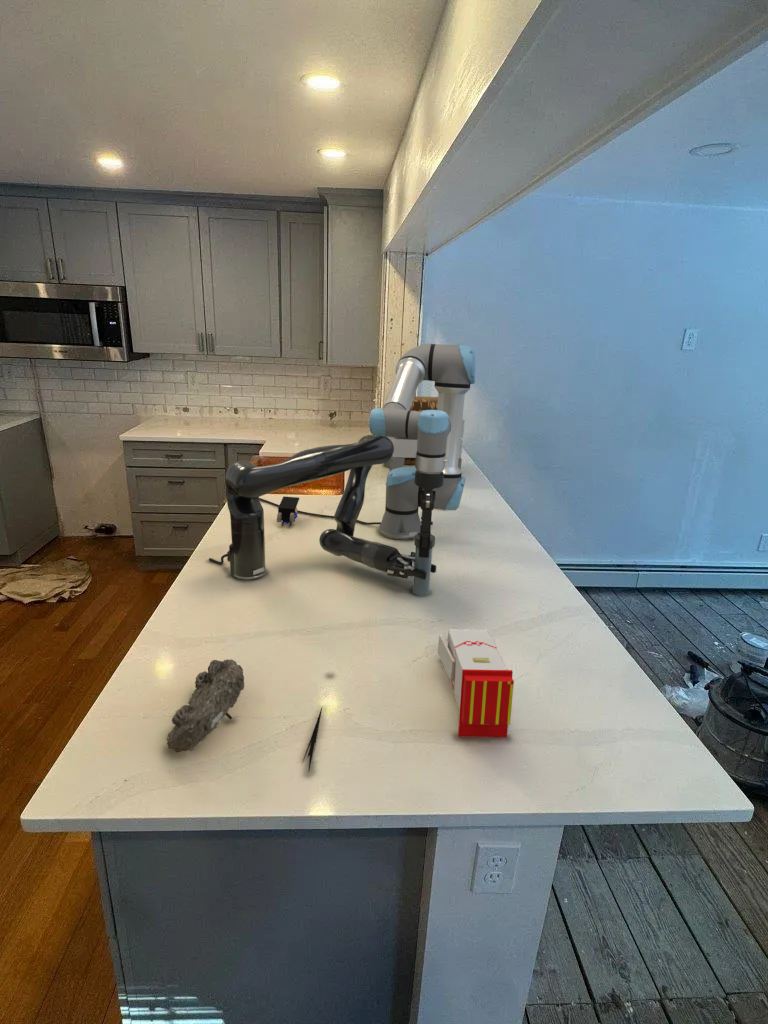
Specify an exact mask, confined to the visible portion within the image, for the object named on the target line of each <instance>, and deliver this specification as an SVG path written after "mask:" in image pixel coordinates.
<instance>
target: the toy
mask: <svg viewBox="0 0 768 1024" xmlns="http://www.w3.org/2000/svg"><path fill="white" fill-rule="evenodd" d="M446 640H447V643H446V641H445V639H444V636H443V635H442V634H439V637H438V646H437V656H438V657H439V659H440V661H441V663H442V666H443V668H444V670H445V672H446V674H447V677H448V679H449V681H450V684H451V687H452V690H453V693H454V697H455V701H456V705H457V708H458V711H459V714H458V715H459V716H458V730H457V731H458V732H457V737H458V738H508V731H509V726H510V725H511V717H512V707H513V697H514V696H513V695H514V684H515V680H514V679H513V673H514V671H513V670H512V669H508V667H507V665H506V662H505V661H504V659H503V658H502V655H501V653H500V651H499V649H498V647H497V643H496V639H495V637H494V635H493V634H491V632H490V631H489V629H467V628H466V629H465V628H463V629H461V628H460V629H459V628H448V630H447V639H446Z"/></svg>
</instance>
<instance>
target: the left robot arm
mask: <svg viewBox="0 0 768 1024" xmlns="http://www.w3.org/2000/svg"><path fill="white" fill-rule="evenodd" d="M393 453H394V445H393V443H392V441H391V440H390V439H389V438H388V437H383V436H378V435H373V434H366V435H364V436H362V437H361V438H360V439H359V440H358V441H357V442H353V443H348V444H346V443H345V444H332V445H324V446H323V445H322V446H318V447H313V448H308V449H304V450H301V451H299V452H296V453H295V454H293V455H291V456H290V457H289V458H286V459H285V460H283V461H282V462H281V461H280V462H278V463H273V464H268V465H261V466H260V465H259V466H258V465H255V464H254V463H252V462H250V461H248V460H242V459H241V460H236V461H234V462H232V464H230V465H229V467H227V470H226V473H225V495H226V503H227V504H226V505H227V508H228V511H229V516H230V534H231V535H230V536H231V542H230V544H229V545H228V551H227V552H226V553H225V554H222V556H220V561H218V560H216V559H214V558H213V557H212V558H211V557H209V558H208V561H210V562H212V563H215V564H217V565H223V564H224V562H225V560H224V559H225V558H226V559H227V562H228V563H229V568H230V569H229V570H230V571H229V573H230V576H231V577H235V578H236V579H239V580H245V581H246V580H247V581H251V580H257V579H260V578H262V577H264V576H265V575H266V573H267V567H266V543H265V542H266V540H265V536H266V535H265V512H264V511H265V510H264V507H263V504H262V502H261V500H259V498H261V497H263V496H265V495H269V494H271V493H274V492H276V491H278V490H282V489H285V488H288V487H293V486H297V485H301V484H305V483H309V482H310V483H311V482H314V481H319V480H322V479H326V478H329V477H333V476H335V475H338V474H339V475H340V474H342V473H344V472H347V471H349V474H348V478H347V481H346V485H345V487H344V490H343V492H342V495H341V498H340V500H339V503H338V505H337V507H336V510H335V512H334V515H333V516H334V518H333V520H334V521H335V523H336V528H328V529H325V530H324V531H322V532H321V533H320V535H319V538H318V541H319V545H320V547H321V548H322V549H323V550H324V551H326V552H327V553H329V554H331V555H334V556H337V557H341V556H343V557H345V558H348V559H349V560H352V561H353V562H357V563H359V564H363V565H365V566H367V567H369V568H372V569H375V570H378V571H381V572H384V573H386V575H387V576H389V577H394V578H400V579H404V580H408V579H409V578H413V577H417V578H420V579H423V580H425V579H426V578H427V572H425V571H422V570H419V569H416V568H415V569H414V565H413V564H414V562H415V551H411V552H410V554H403V553H402V554H401V552H400V551H399V549H398V548H397V547H394V546H391V545H388V544H384V543H381V542H378V541H371V540H367V539H364V538H362V537H356V536H354V535H355V531H356V523H357V522H356V521H357V520H358V518H359V515H360V513H361V511H362V508H363V506H364V503H365V502H364V501H365V496H366V483H367V479H368V476H369V473H370V471H371V470H372V467H374V466H376V465H384V464H383V463H385V462H387V461H388V460H389V459H390V458H391V457H392V455H393ZM436 572H437V565H436V564H433V563H432V564H431V573H432V574H435V573H436Z"/></svg>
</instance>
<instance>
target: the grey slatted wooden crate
mask: <svg viewBox="0 0 768 1024" xmlns="http://www.w3.org/2000/svg"><path fill="white" fill-rule="evenodd" d="M437 405H438V396H416V395H415V396H414V399H413V402H412V405H411V408H410V411H421V412H422V411H424V410H437ZM464 429H465V419H464V418H462V428H461V439H460V450H459V460H458V467H459V469H460V470H461V471H462V461H463V460H462V453H463V442H464V441H463V440H462V439H463V438H464V431H465V430H464ZM388 438H389V439H390V440H391V441H392V443H393V445H394V453H393V455H392V457H391V458H390V459H389V460H388V461H387V462H385V463H383V464H382V465H383V466H384V467H388V468H389V472H390V471H391V470H393V469H396V468H400V467H405V466H406V467H415V464H416V453H417V439H410V438H399V437H388Z"/></svg>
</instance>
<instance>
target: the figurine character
mask: <svg viewBox="0 0 768 1024" xmlns="http://www.w3.org/2000/svg"><path fill="white" fill-rule="evenodd" d="M299 500H300V497H297V496H285V495H284V496H283V497H282V498H281V501H280V503H279V504H278V505H279V507H278V506H277V514H276V515H277V516H276V523H281V524H280V526H281V527H284V525H285V524H289V526H288V527H292V525H293V523H295V521H296V519H297V518H298V517H299V516H298V512H297V510H298V508H297V506H298V503H299Z"/></svg>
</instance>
